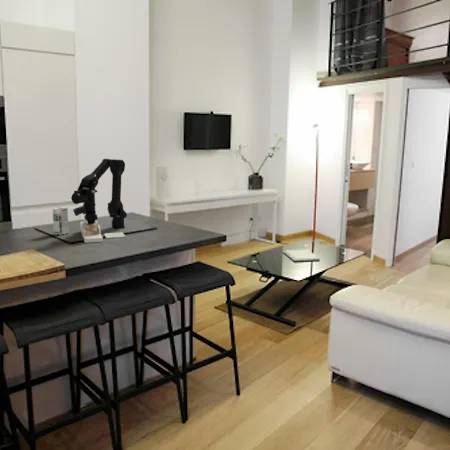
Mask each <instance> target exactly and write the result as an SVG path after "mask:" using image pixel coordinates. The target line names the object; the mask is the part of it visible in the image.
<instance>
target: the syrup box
mask: <svg viewBox="0 0 450 450" xmlns="http://www.w3.org/2000/svg"><path fill="white" fill-rule="evenodd" d="M68 212H69V211H68V207H63V206H56V207H52V221H53V222H52V223H53V234H54V235H57V234H59V236H63V235H62V234H64V235H67V234H66V233H68V234H69V215H68Z"/></svg>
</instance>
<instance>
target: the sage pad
mask: <svg viewBox="0 0 450 450" xmlns="http://www.w3.org/2000/svg"><path fill="white" fill-rule="evenodd" d="M103 234H104V236H105V239H107V240H108V239H119V238H126V235H125V234H124V233H123V232H122V231H121V232H108V233H107V232H105V233H103Z"/></svg>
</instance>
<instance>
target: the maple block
mask: <svg viewBox="0 0 450 450" xmlns="http://www.w3.org/2000/svg"><path fill="white" fill-rule="evenodd" d="M86 233H87V235H97V225H96V223H94V224H86Z"/></svg>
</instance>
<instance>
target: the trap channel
mask: <svg viewBox="0 0 450 450" xmlns="http://www.w3.org/2000/svg"><path fill="white" fill-rule="evenodd" d="M95 223H96V225H97V235H87V233H86V224H88V222H87V221H80V233H81V236H82V239H83V238H84V239H83V241H84V244H85V243H87V244H89V243H102V242H104V238H103V236H102V234H101V233H102V231H101V226H100V224H99V222H98V220H95Z"/></svg>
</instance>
